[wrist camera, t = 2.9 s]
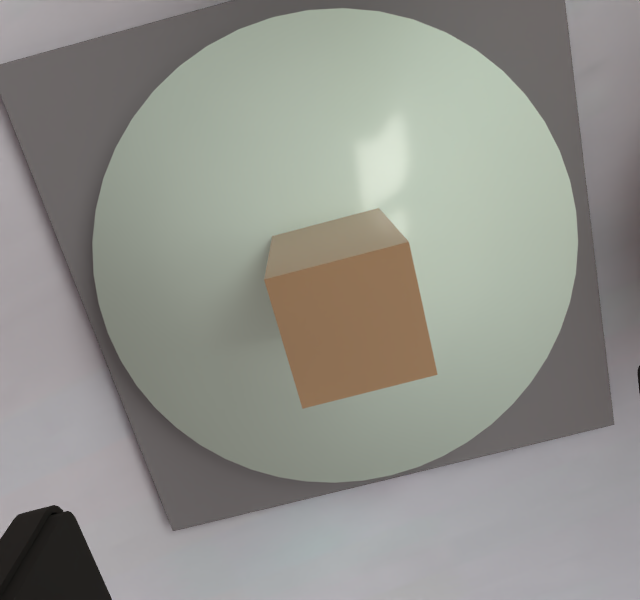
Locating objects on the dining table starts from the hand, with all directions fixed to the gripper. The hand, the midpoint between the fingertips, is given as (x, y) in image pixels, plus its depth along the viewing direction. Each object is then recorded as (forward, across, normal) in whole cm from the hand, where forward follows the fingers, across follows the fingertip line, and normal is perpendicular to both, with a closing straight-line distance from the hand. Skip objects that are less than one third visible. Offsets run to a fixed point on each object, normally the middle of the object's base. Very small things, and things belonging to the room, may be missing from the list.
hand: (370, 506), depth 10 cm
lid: (+15, -1, 0) cm, 15 cm away
